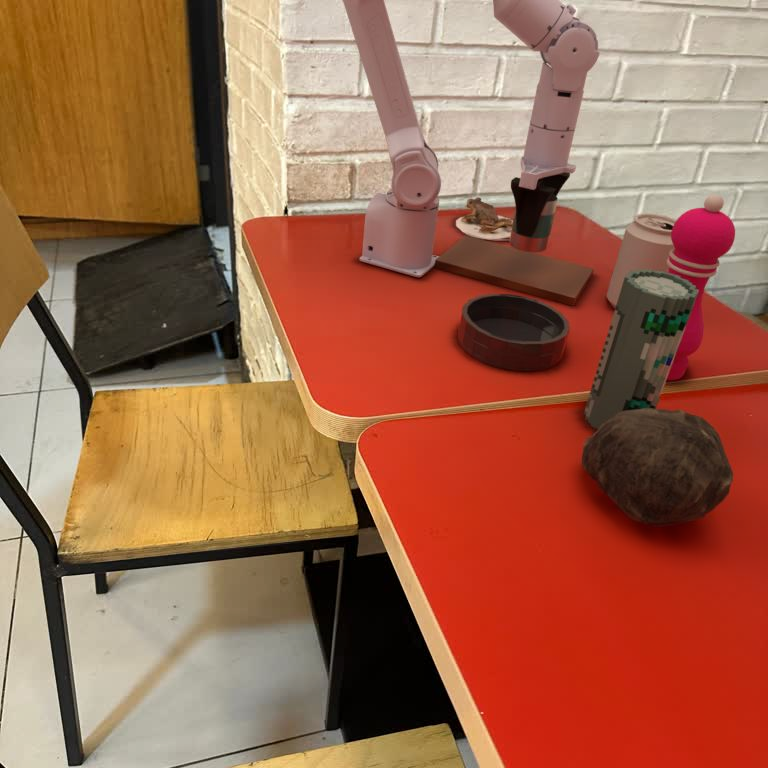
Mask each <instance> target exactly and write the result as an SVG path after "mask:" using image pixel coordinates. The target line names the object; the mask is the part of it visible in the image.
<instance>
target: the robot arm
mask: <svg viewBox="0 0 768 768" xmlns="http://www.w3.org/2000/svg"><path fill="white" fill-rule="evenodd" d="M342 2H343V5H344V9H345V12H346V15H347V19H348V21H349V25H350V28H351V31H352V34H353V38H354V41H355V44H356V47H357V51H358V54H359V57H360V60H361V63H362V66H363V69H364V73H365V76H366V79H367V82H368V85H369V88H370V91H371V95H372V98H373V101H374V105H375V107H376V111H377V115H378V118H379V121H380V124H381V127H382V130H383V134H384V136H385V140H386V147H387V151H388V155H389V160H390V164H391V167H392V168H391V169H392V177H391V183H390V185H391V188H390V190H388V191H387V192H386V193H380V192H379V193H376V194H374V195H373V196H372V198H371V199H370V200H369V202H368V205H367V208H366V212H365V217H364V227H363V228H364V229H363V240H362V251H361V256H359V262H361V263H362V262H363V263H365V264H368V265H372V266H375V267H379V268H383V269H387V270H390V271H394V272H396V273H397V272H398V273H401V274H405V275H408V276H411V277H415V278H421V277H423V276H424V275H426V274H427V273H428V272H429V271H430V270H431V269H433V268H434V265H435V260H436V259H437V258H438V257H439V256H440V255H436V254H433V251H434V245H435V239H436V238H435V236H436V229H437V223H438V214H439V207H440V198H439V194H440V192H441V189H442V188H441V187H442V179H441V175H440V173H439V160H438V156H437V155H436V153H435V151H434V150H433V149H432V148H431V147H430V146H429V145H428V143H427V141H426V140H425V137H424V133H423V130H422V128H421V127H422V126H421V125H420V122H419V119H418V116H417V112H416V107H415V105H414V101H413V98H412V94H411V91H410V87H409V83H408V80H407V77H406V74H405V70H404V66H403V63H402V60H401V56H400V52H399V49H398V44H397V41H396V38H395V34H394V31H393V27H392V23H391V20H390V17H389V14H388V10H387V6H386V3H385V0H342ZM492 4H493V16H494V18H495V19H496V20H497V21H498V22H499V23H500V24H501V25H503V26H504V27H505V28H506V29H507V30H509V32H511V33H512V34H513V35H514V36H515V37H516V38H518V39H519V41H521V42H522V43H524V45H526V46H527V47H528V48H529V49H530V50H531V51H532V52H539V54H540V57H541V59H542V61H543V62H542V65H541V70H540V75H539V79H538V83H537V85H536V90H535V95H534V100H533V104H532V105H533V106H532V110H531V116H530V121H529V126H528V131H527V136H526V140H525V146H524V150H523V151H524V152H523V155H522V157H521V158H520V167H521V172H520V177H518V176H517V177H514V178H512V179H511V180H510V189H511V192H512V195H513V199H514V204H515V208H516V229H517V234H521V235H525V236H529V237H532V236H533V234H534V232H535V230H536V228H537V225H538V222H539V220H540V217H541V214H542V212H543V209H544V207H545V205H546V203H547V201H548V200H549V198H550V197H551V195H552V194H553V195H555V196H556V197H558V194H559V193H560V191H561V190H562V188H563V186H564V185H565V183H566V182H567V181H568V180H569V179H570V177H571V174H574V173H575V172H576V168H577V165H575V164H571V163H568V162H569V157H570V153H571V148H572V144H573V140H574V135H575V131H576V128H577V123H578V118H579V114H580V111H581V105H582V101H583V96H584V93H585V92H584V91H585V90H584V89H585V85H586V80H587V75H588V72H589V71H590V70H592V68H594V66H595V64H596V63H597V61H598V59H599V58H600V57H599V56H600V51H599V50H598V49H599V40H598V39H597V33H596V32H595V30H594V29H593V28H592V27H591V26H589V25H588V24H587V23H584V22H582V21H580V19H579V18H578V17H576V16H574V15H575V14H576V12H577V9H576V8H575V7H574V6H573V5H572V4H567V5H565V4H564V3H563V2H561V0H492Z"/></svg>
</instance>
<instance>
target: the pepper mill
mask: <svg viewBox="0 0 768 768" xmlns="http://www.w3.org/2000/svg"><path fill="white" fill-rule="evenodd" d="M724 203H725V202H724V199H723V197H722V196H721V195H719V194H710V195H708V196H707V197H706V198H705V200H704V202H703V206H704V207H695V208H691V209H689V210H687V211H685V212H683V213H682V214H681V215H679V217H678V218H677V219H676V220H677V221H676V222H675V224H674V226H673V228H672V232H671V240H672V243H673V245H674V247H675V249H672V250H671V251H670V253H669V255H670V256H669V258H668V259H667V265H668V266H669V272H668V273H670V274H674V275H677V276H681V277H680V278H682V279H686V280H689V282H690V283H692V285H695V286H696V288H695V289H697V290H699V292H698V295H697V298H696V301H695V303H694V306H693V309H692V311H691V314H690V317H689V320H688V322H687V325H686V328H685V330H684V333H683V336H682V339H681V341H680V344H679V347H678V350H677V352H676V355H675V358H674V360H673V363H672V366H671V369H670V371H669V374H668V377H667V379H666V381H676V380H680V379H681V378H682V377H683V376H684V375H685V374H686V370H687V368H688V365H689V357H690V356H691V355H693V354H694V353H696V352H697V351H698V349H699V348H700V347H701V345H702V341H703V339H704V338H703V337H704V329H705V328H704V327H705V325H704V317H703V307H702V302H703V296H704V292H705V288H706V286H707V284H708V282H709V280H710V278H712V277H714V276H716V274H717V269H718V267H719V266H720V263H721V262H720V260H719V259H720V258H721V257H722V256H724V255H726V254H727V253H728V252H729V251H730V250H731V248H732V247H733V245H734V243H735V239H736V228H735V224H734V221H732V219H731V218H730V217H729V216H728V215H727V214H725V213H724V212H722V211H721V210H722V208H723V206H724ZM688 356H689V357H688Z"/></svg>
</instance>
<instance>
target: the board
mask: <svg viewBox="0 0 768 768" xmlns="http://www.w3.org/2000/svg"><path fill="white" fill-rule="evenodd" d="M438 256H439V257H438V258H437V259H436V260H435V265H434V267H433V268H434V269H437V270H442V271H445V272H449V273H452V274H455V275H460V276H462V277H466V278H470V279H474V280H477V281H481V282H485V283H488V284H491V285H494V286H495V285H496V286H500V287H503V288H506V289H509V290H514V291H517V292H521V293H525V294H528V295H532V296H534V297H538V298H542V299H546V300H550V301H553V302H557V303H561V304H564V305H568V306H571V307H574V305H575V304H576V302H577V301H578V299H579V298H580V296H581V294H582V293H583V292H584V290H585V288H586V286H587V285H588V283H589V282H590V280H591V279H592V277H593V274H594V271H595V268H593V267H590V266H586V265H582V264H578V263H573V262H570V261H566V260H562V259H558V258H554V257H551V256H546V255H543V254H539V253H536V252H527V251H522V250H519V249H516V248H514V247H512V246H507V245H503V244H500V243H496V242H492V241H489V240H486V239H480V238H474V237H471V236H469V235H464V236H462V237H461V238H460V239H459V240H458V241H456V242H455V243H454V244H453V245H451V247H449V248H448V249H447V250H445V251H444V252H443V253H441V255H438Z"/></svg>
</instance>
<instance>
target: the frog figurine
mask: <svg viewBox="0 0 768 768" xmlns="http://www.w3.org/2000/svg"><path fill="white" fill-rule="evenodd" d="M466 208H468V209H470V210H471V211H472V212H471V213H469V214H465V215H464V216H463V215H462V216H460V217H458V218H457V219H456V220H455V227H456V228H457V229H459V230H460V232H462V233H463V234H464V235H465V236H469V237H473V238H477V239H481V240H486V241H494V242H507V241H508V242H509V240H510V235H511V230H512V223H513V218H510V217H507V216H504V215H498V213H497V210H496V208H495V207H494V205H492V204H490V203H487V202H484V201H482V198H481V197H479V196H478V197H476V198H468V199H467V200H466Z"/></svg>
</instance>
